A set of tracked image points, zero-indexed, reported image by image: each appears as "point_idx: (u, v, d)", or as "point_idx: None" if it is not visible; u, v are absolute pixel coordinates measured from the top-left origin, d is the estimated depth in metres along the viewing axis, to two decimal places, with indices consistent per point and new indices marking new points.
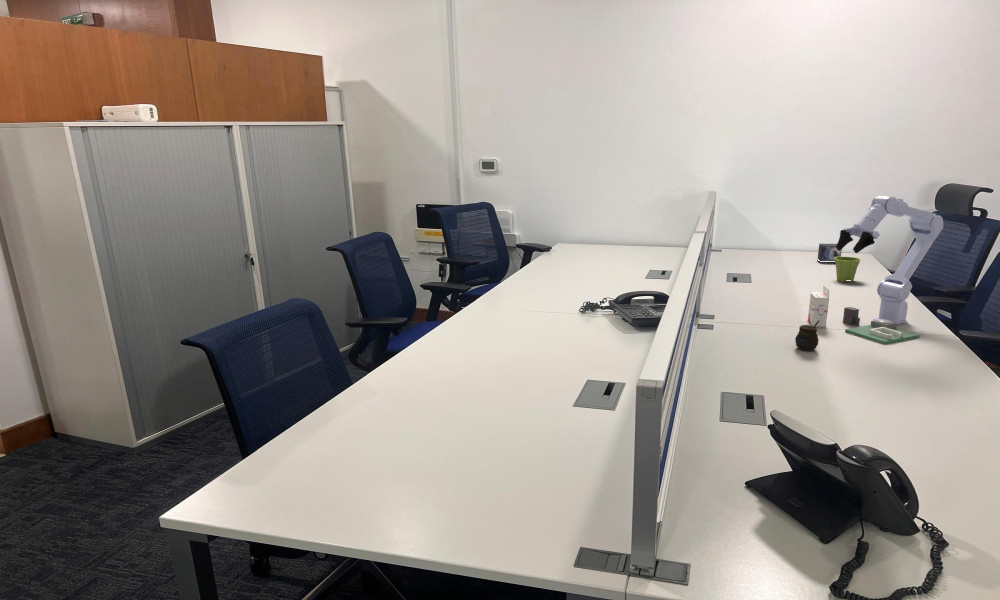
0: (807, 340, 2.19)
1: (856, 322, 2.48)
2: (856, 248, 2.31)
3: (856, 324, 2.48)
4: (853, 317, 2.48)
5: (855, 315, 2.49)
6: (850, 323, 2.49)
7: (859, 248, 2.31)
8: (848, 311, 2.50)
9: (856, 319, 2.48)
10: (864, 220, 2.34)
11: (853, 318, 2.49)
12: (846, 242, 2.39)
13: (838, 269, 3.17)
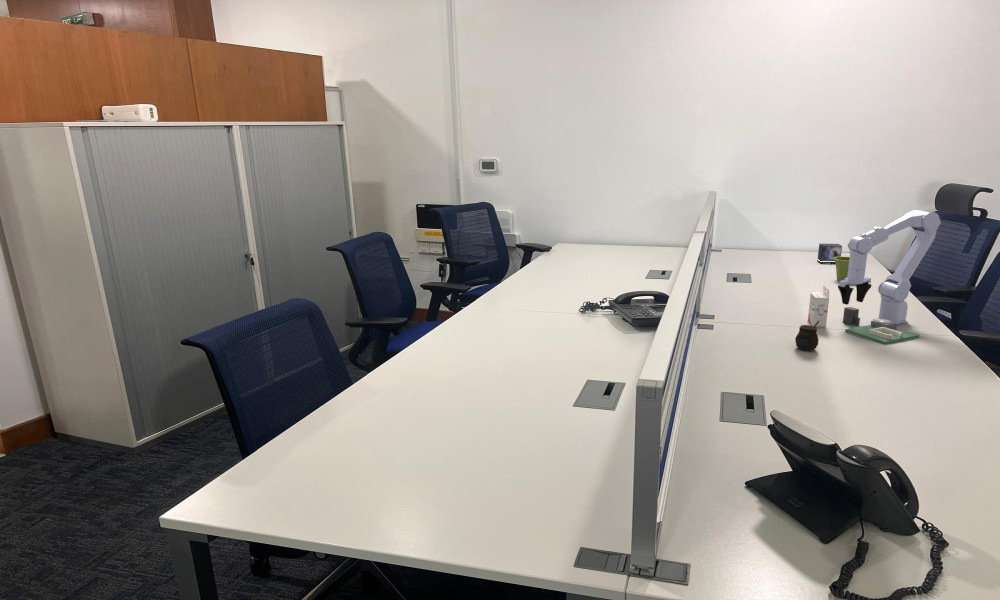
0: (807, 340, 2.19)
1: (856, 322, 2.48)
2: (843, 301, 2.48)
3: (856, 324, 2.48)
4: (853, 317, 2.48)
5: (855, 315, 2.49)
6: (850, 323, 2.49)
7: (845, 299, 2.47)
8: (848, 311, 2.50)
9: (856, 319, 2.48)
10: None
11: (853, 318, 2.49)
12: (863, 291, 2.49)
13: (838, 269, 3.17)
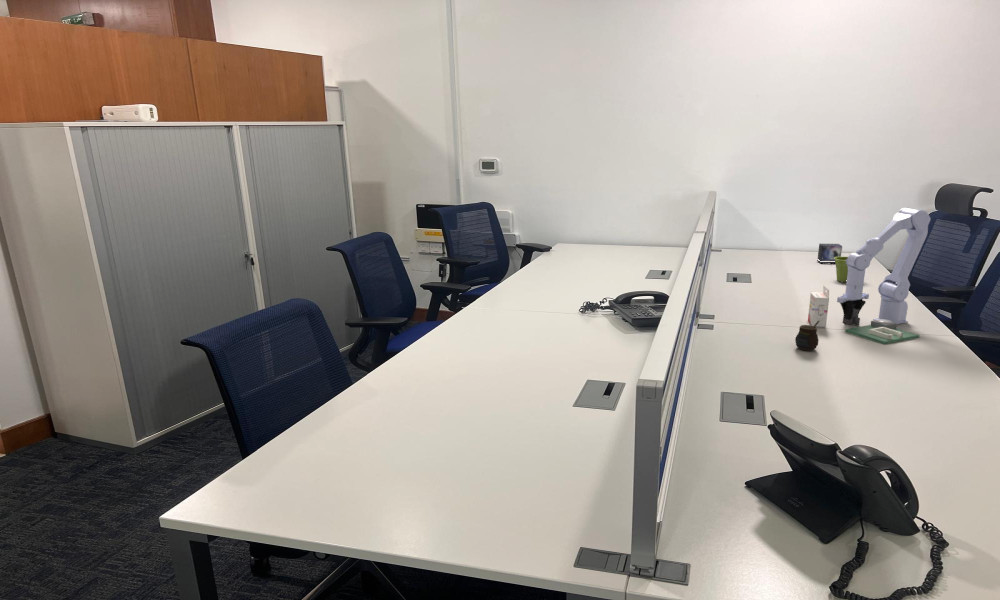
0: (807, 340, 2.19)
1: (856, 322, 2.48)
2: (845, 316, 2.50)
3: (856, 324, 2.48)
4: (853, 317, 2.48)
5: (855, 315, 2.49)
6: (850, 323, 2.49)
7: (847, 314, 2.49)
8: None
9: (856, 319, 2.48)
10: None
11: (853, 318, 2.49)
12: (857, 308, 2.49)
13: (838, 269, 3.17)
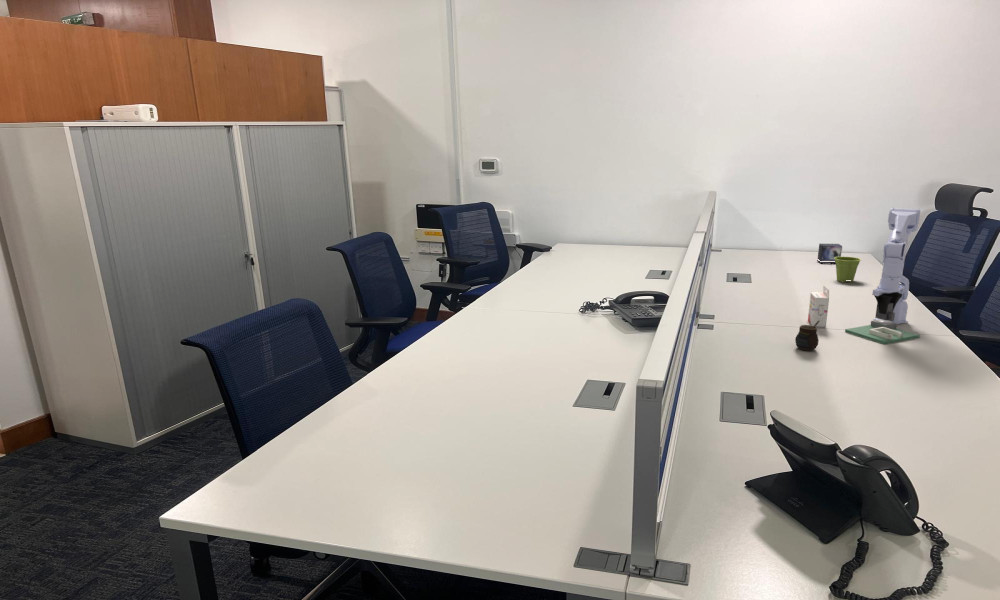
0: (807, 340, 2.19)
1: (891, 317, 2.31)
2: (880, 310, 2.32)
3: (890, 319, 2.31)
4: (887, 312, 2.31)
5: (889, 310, 2.31)
6: (884, 318, 2.32)
7: (882, 308, 2.31)
8: None
9: (891, 314, 2.30)
10: None
11: (887, 313, 2.31)
12: (893, 301, 2.31)
13: (838, 269, 3.17)
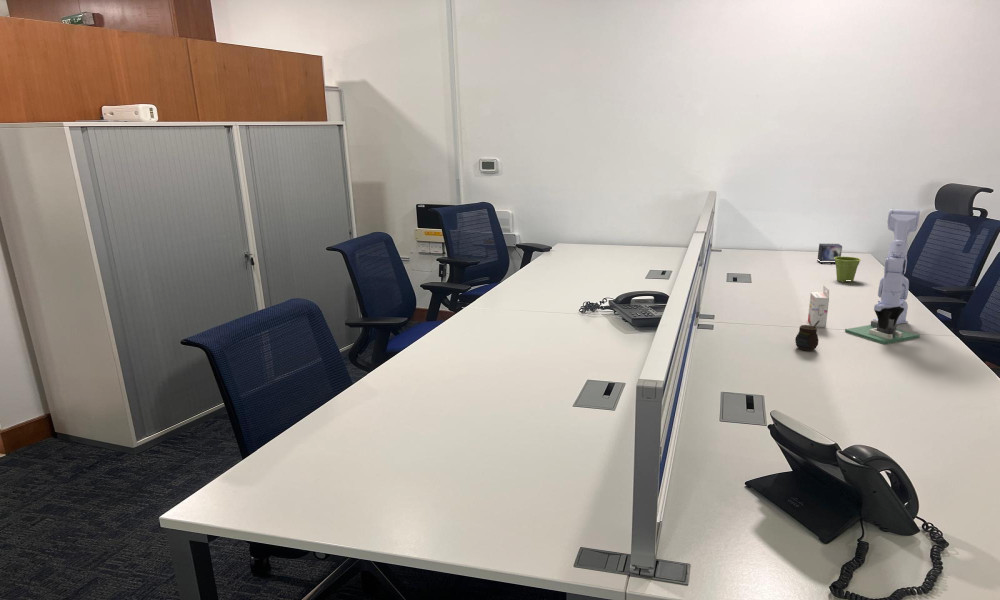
0: (807, 340, 2.19)
1: (892, 333, 2.31)
2: (880, 325, 2.32)
3: None
4: (888, 328, 2.31)
5: (890, 326, 2.31)
6: None
7: (882, 323, 2.31)
8: None
9: (892, 330, 2.31)
10: None
11: (888, 329, 2.31)
12: (895, 315, 2.32)
13: (838, 268, 3.17)
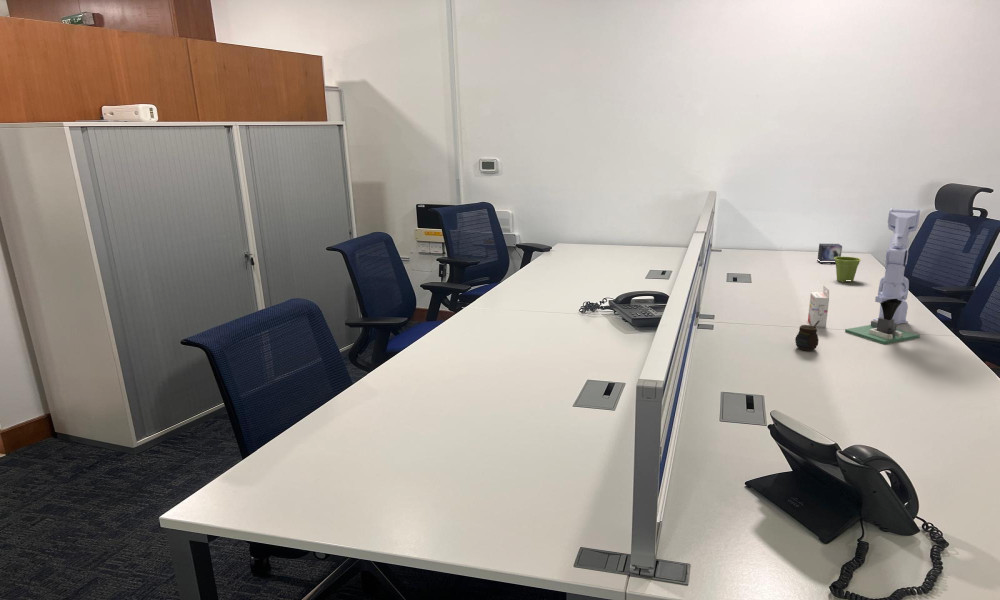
0: (807, 340, 2.19)
1: (892, 333, 2.31)
2: (885, 316, 2.32)
3: None
4: (888, 328, 2.31)
5: (890, 326, 2.31)
6: None
7: (887, 314, 2.31)
8: (882, 321, 2.32)
9: (892, 330, 2.31)
10: None
11: (888, 329, 2.31)
12: None
13: (838, 268, 3.17)
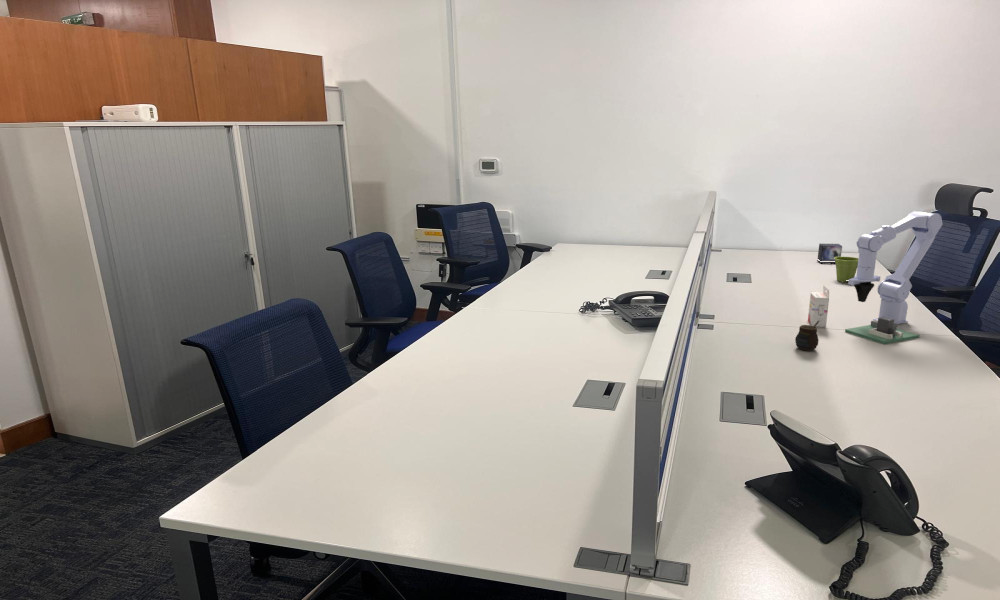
0: (807, 340, 2.19)
1: (892, 333, 2.31)
2: (859, 299, 2.47)
3: None
4: (888, 328, 2.31)
5: (890, 326, 2.31)
6: None
7: (861, 297, 2.46)
8: (882, 321, 2.32)
9: (892, 330, 2.31)
10: None
11: (888, 329, 2.31)
12: None
13: (838, 269, 3.17)
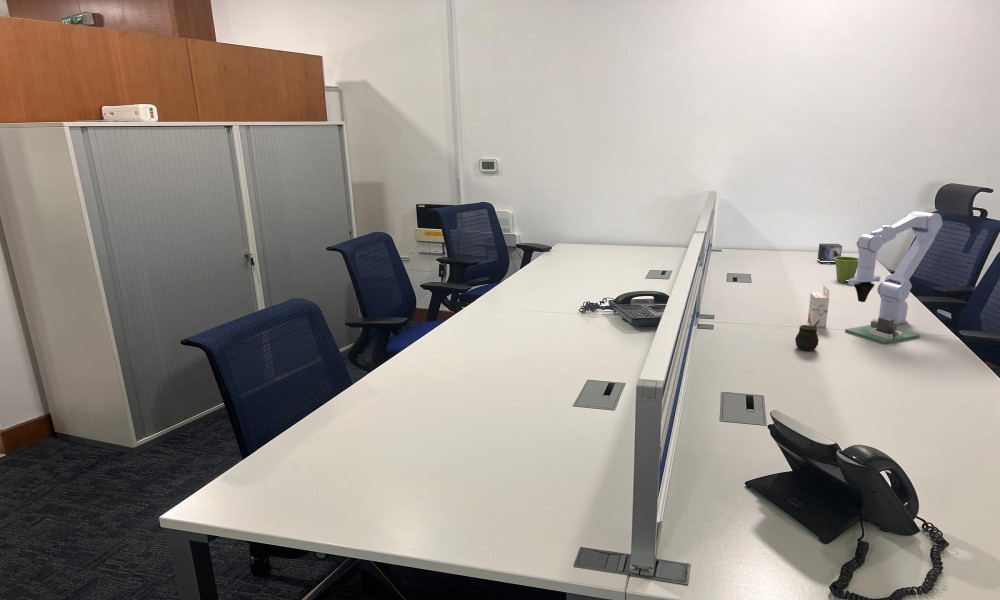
0: (807, 340, 2.19)
1: (892, 333, 2.31)
2: (859, 299, 2.47)
3: None
4: (888, 328, 2.31)
5: (890, 326, 2.31)
6: None
7: (861, 297, 2.46)
8: (882, 321, 2.32)
9: (892, 330, 2.31)
10: None
11: (888, 329, 2.31)
12: None
13: (838, 269, 3.17)
